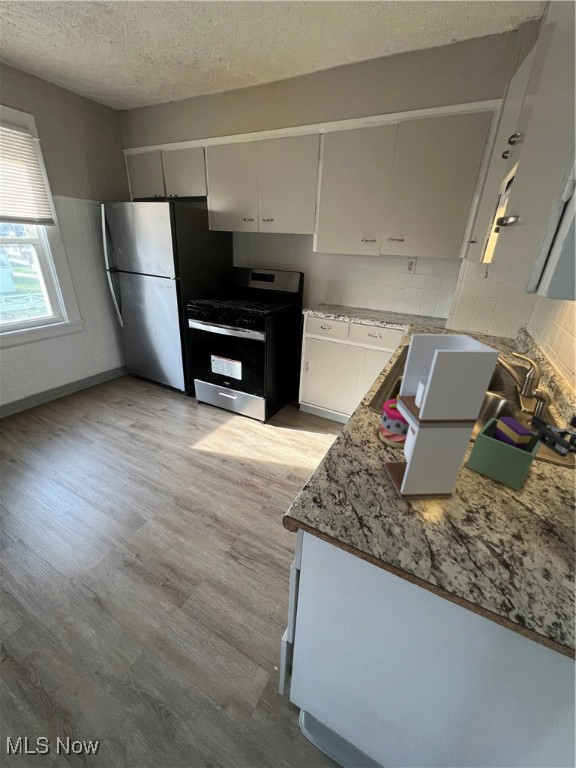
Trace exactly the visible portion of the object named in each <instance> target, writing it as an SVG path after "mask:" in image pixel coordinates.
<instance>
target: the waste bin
mask: <svg viewBox="0 0 576 768" xmlns="http://www.w3.org/2000/svg"><path fill="white" fill-rule="evenodd" d="M498 420H499V419H497V418H495V417H491V418H490V419H489V420H488V421H487V423H485V425H483V427H482V428H481V429H480V430H479V431H478V433H477V434H476V437H475V440H474V442H473V444H472V448H471V451H470V454H469V457H468V458H467V459H468V460H467V463H466V467H467V468H468V469H471V470H473V471H474V472H477V473H479V474H481V475H483V476H485V477H488V478H489V479H491V480H494V481H496V482H498V483H500V484H502V485H504V486H506V487H509V488H511V489H513V490H515V491H517V492H519V491H520V489H521V487H522V485H523V483H524V481H525V479H526V477H527V475H528V473H529V472H530V469H531V467H532V465H533V462H534V461H535V458H536V456H537V454H538V452H539V450H540V447H541V445H542V443H541V442H540V441H538V440H537V439H536V436H537V434H538V432H534V431H531V430H529V431H530V432H532V435H531V438H530V440H529V443H528V444H527V446H526V449H525V451H523V450H521V449H518V448H516V447H513V446H511V445H508V444H506V443H503V442H501V441H498V440H496V439H493V438H492V437H493V435H494V432H495V429H496V427H497V423H498Z"/></svg>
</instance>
